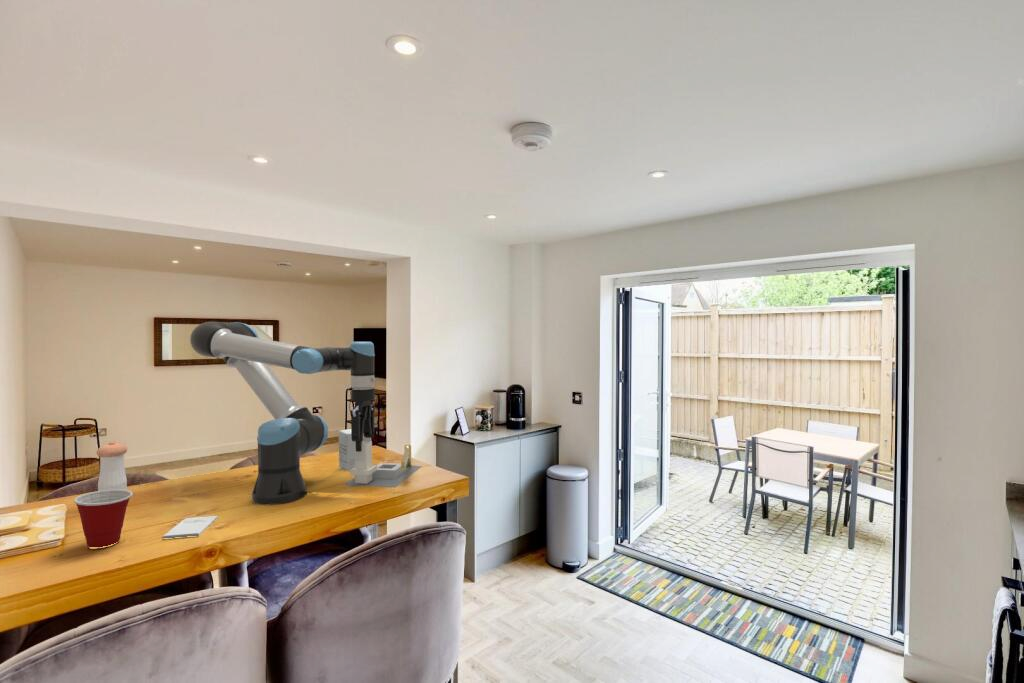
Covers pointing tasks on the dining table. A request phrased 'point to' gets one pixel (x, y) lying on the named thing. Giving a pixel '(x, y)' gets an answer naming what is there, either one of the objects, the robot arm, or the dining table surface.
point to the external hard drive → (190, 527)
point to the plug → (364, 466)
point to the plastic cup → (103, 515)
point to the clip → (406, 457)
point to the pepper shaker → (112, 467)
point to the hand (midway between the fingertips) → (363, 458)
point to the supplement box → (346, 450)
